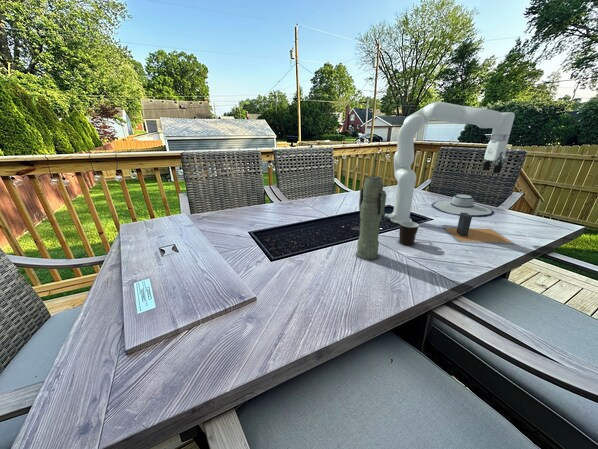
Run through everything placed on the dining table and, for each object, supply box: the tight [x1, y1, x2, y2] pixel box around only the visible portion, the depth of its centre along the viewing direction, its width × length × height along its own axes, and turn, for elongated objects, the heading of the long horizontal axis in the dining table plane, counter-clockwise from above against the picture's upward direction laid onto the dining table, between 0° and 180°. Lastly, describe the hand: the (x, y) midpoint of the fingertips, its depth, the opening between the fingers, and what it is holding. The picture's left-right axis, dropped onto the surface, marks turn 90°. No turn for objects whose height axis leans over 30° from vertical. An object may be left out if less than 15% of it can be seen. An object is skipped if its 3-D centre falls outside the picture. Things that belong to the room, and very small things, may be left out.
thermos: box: [356, 175, 387, 261], centre depth 105 cm, size 9×12×35 cm
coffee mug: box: [398, 221, 420, 247], centre depth 121 cm, size 12×9×10 cm
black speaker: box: [456, 213, 473, 236], centre depth 128 cm, size 3×6×11 cm, turn 173°
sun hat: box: [431, 193, 494, 217], centre depth 172 cm, size 36×36×9 cm
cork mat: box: [444, 227, 513, 244], centre depth 129 cm, size 24×18×1 cm
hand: (490, 171), depth 134 cm, fingers open, 9 cm apart
